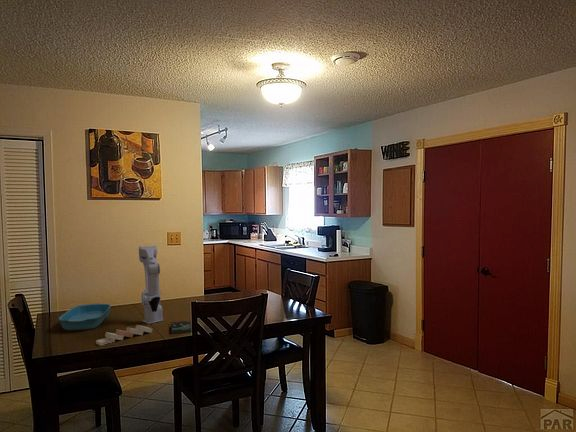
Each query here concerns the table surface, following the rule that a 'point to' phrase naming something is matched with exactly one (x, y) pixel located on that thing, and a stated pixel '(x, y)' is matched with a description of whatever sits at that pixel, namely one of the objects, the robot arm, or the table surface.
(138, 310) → the table surface
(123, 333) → the domino
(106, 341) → the domino
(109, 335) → the domino
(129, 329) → the domino
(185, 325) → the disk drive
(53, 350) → the table surface
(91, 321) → the casserole dish
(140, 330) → the domino
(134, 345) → the table surface
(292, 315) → the table surface
